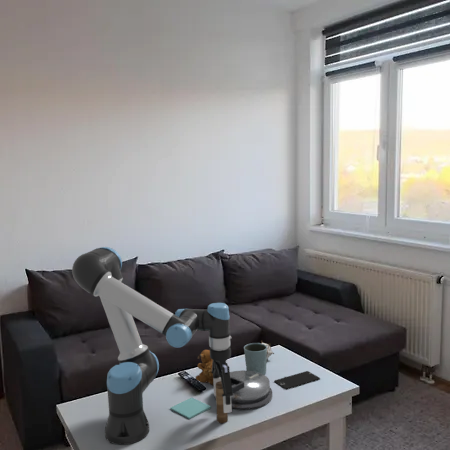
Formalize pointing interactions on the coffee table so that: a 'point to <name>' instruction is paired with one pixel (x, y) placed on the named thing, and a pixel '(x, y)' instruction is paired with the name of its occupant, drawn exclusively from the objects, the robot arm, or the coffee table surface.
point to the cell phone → (297, 380)
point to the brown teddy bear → (205, 368)
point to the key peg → (220, 404)
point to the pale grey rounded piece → (268, 350)
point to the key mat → (190, 408)
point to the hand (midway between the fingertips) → (222, 403)
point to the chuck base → (253, 405)
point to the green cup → (256, 357)
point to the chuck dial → (249, 387)
